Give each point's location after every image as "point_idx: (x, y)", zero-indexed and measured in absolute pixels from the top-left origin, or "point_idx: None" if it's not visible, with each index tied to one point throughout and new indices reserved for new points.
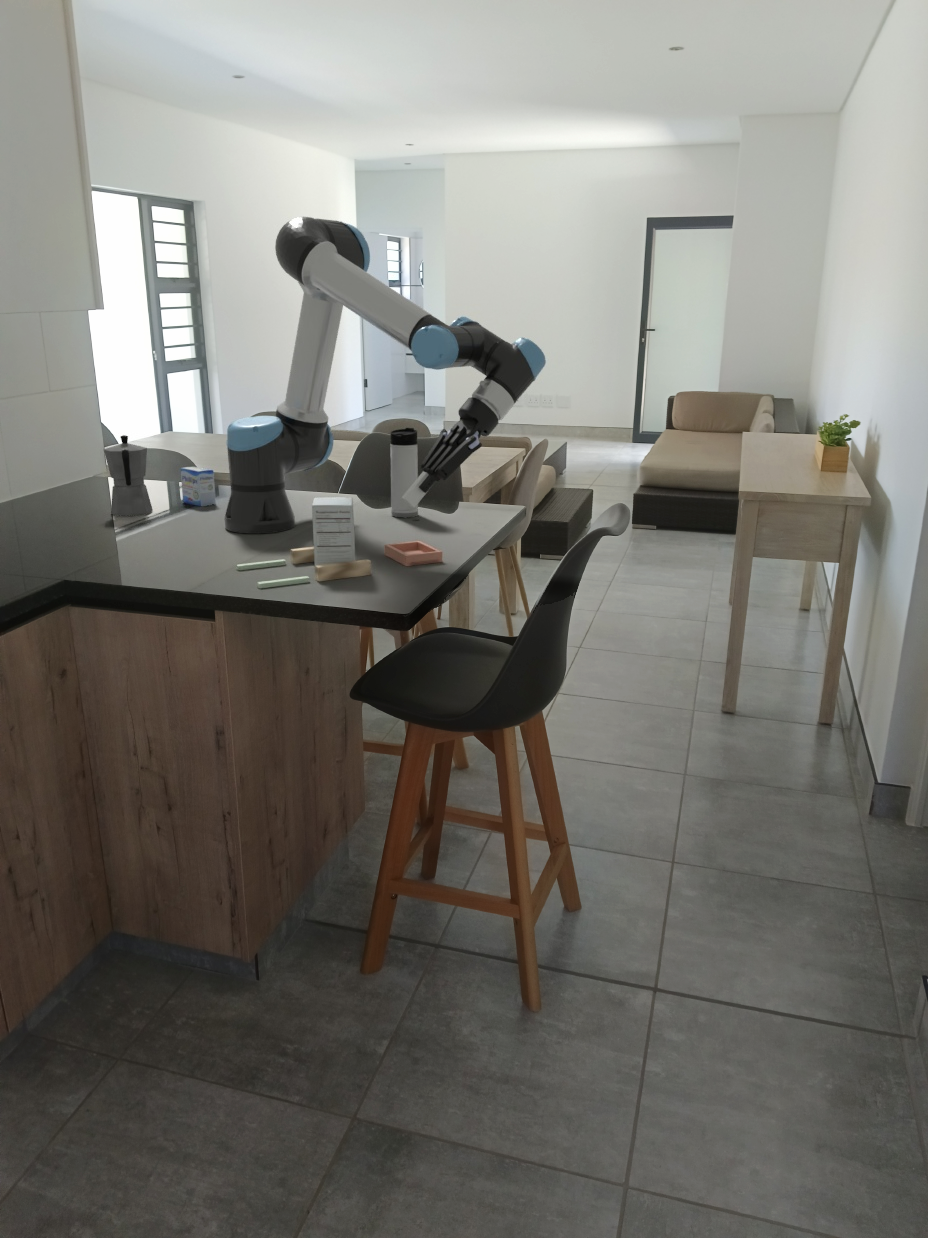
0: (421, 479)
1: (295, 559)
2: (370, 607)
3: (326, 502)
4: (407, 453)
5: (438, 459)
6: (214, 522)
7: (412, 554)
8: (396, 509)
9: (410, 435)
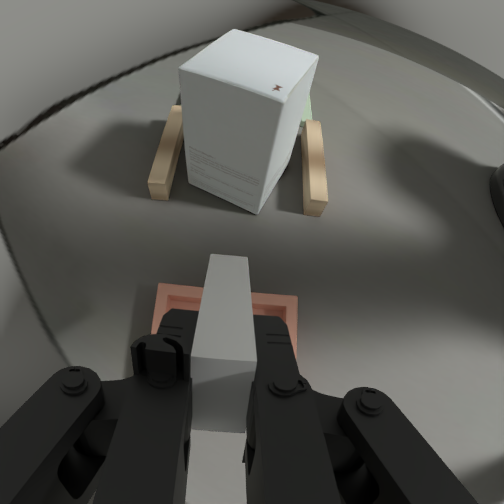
0: (198, 321)
1: (302, 133)
2: (29, 137)
3: (240, 44)
4: None
5: (166, 490)
6: None
7: (161, 303)
8: None
9: None
